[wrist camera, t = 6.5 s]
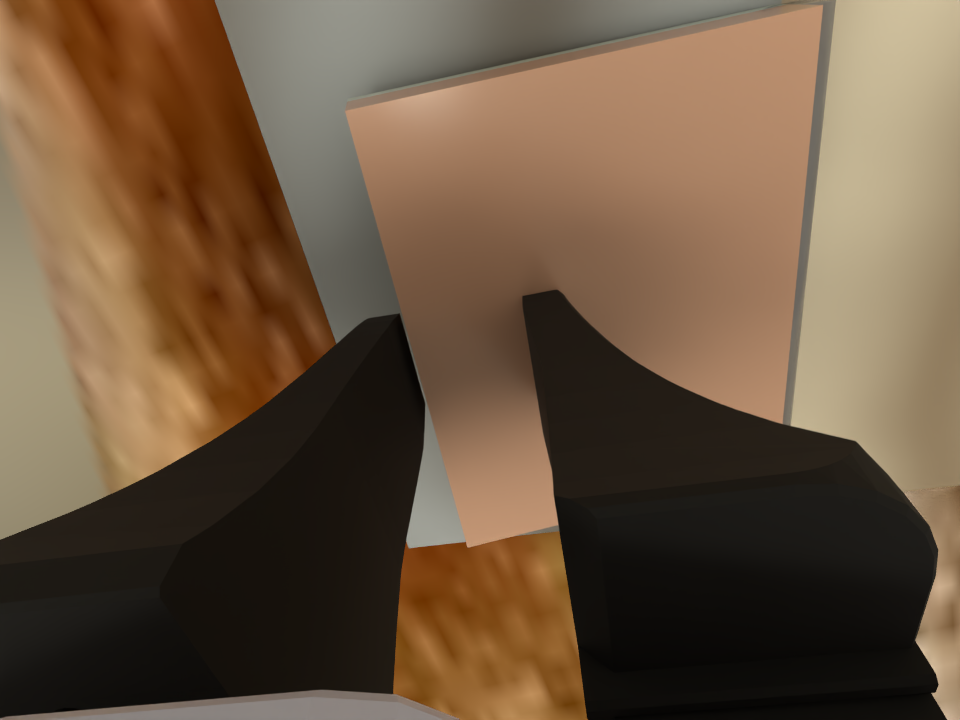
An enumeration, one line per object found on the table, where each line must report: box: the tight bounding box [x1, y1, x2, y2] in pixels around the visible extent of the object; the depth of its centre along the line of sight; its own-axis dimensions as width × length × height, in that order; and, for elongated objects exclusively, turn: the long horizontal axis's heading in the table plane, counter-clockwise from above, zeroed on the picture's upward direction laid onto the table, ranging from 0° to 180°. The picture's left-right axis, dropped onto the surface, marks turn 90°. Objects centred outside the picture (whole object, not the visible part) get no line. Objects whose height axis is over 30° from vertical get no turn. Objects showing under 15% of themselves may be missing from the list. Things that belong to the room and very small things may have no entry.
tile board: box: [215, 0, 960, 548], centre depth 13 cm, size 19×14×2 cm
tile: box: [345, 0, 836, 547], centre depth 12 cm, size 8×9×1 cm
